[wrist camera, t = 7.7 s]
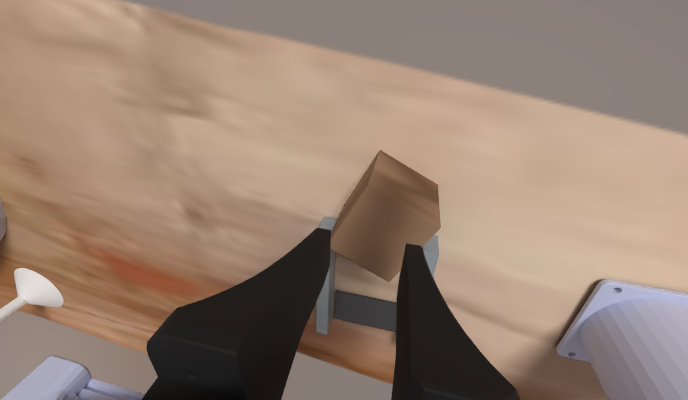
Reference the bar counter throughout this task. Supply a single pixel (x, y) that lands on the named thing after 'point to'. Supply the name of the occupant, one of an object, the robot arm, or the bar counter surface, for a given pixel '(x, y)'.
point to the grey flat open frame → (360, 296)
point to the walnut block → (386, 217)
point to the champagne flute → (32, 292)
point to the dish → (2, 221)
